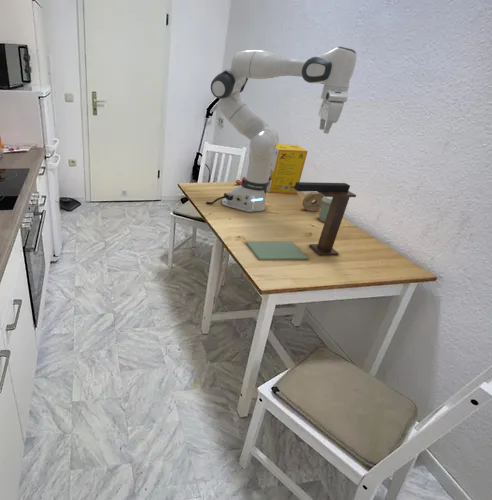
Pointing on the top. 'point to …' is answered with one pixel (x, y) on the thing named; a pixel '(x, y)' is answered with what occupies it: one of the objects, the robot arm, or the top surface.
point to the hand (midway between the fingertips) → (323, 131)
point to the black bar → (322, 187)
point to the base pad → (276, 251)
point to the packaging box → (286, 168)
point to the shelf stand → (332, 222)
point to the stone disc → (315, 205)
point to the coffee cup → (325, 208)
